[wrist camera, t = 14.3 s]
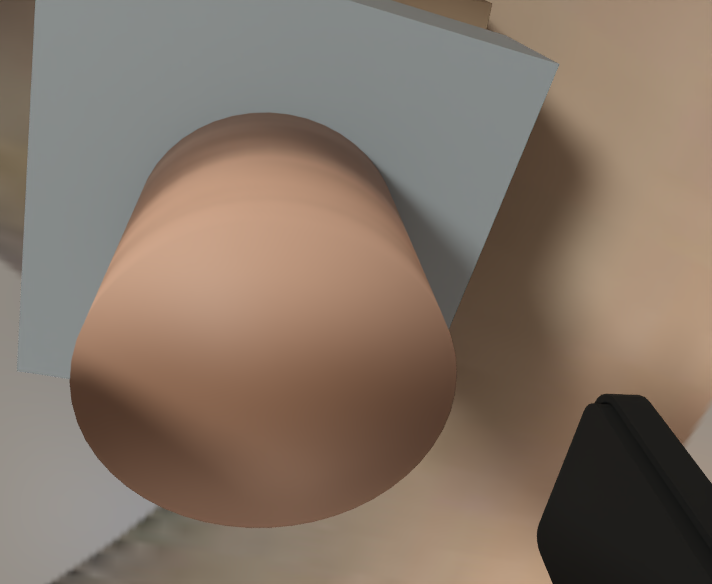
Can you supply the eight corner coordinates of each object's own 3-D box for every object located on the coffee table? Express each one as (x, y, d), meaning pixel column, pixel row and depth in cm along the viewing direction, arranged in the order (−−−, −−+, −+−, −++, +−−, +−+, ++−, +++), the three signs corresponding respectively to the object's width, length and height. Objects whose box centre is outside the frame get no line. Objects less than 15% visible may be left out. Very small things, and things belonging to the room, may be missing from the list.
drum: (140, 89, 14) (66, 195, 9) (424, 137, 15) (505, 253, 10) (130, 335, 17) (71, 520, 12) (368, 358, 18) (408, 534, 13)
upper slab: (91, -93, 16) (40, -94, 12) (505, 35, 18) (559, 64, 15) (59, 294, 21) (17, 370, 17) (387, 352, 23) (407, 429, 20)
